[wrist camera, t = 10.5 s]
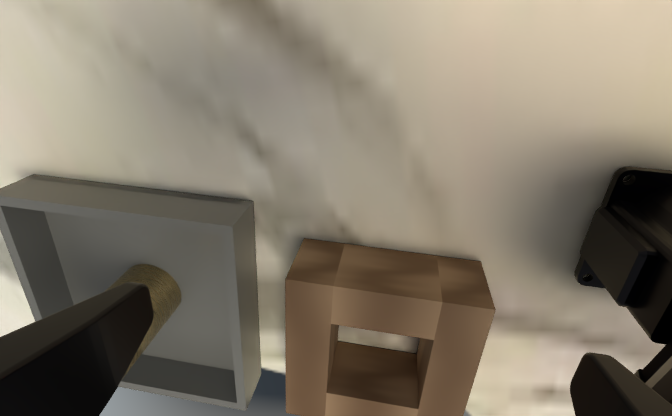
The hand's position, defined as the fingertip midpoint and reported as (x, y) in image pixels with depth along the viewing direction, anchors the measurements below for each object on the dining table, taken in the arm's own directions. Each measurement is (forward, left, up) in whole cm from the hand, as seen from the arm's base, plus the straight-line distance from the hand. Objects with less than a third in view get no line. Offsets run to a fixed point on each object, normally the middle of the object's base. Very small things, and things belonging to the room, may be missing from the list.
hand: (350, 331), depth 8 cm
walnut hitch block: (-1, +11, -13) cm, 17 cm away
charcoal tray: (+14, +11, -13) cm, 22 cm away
